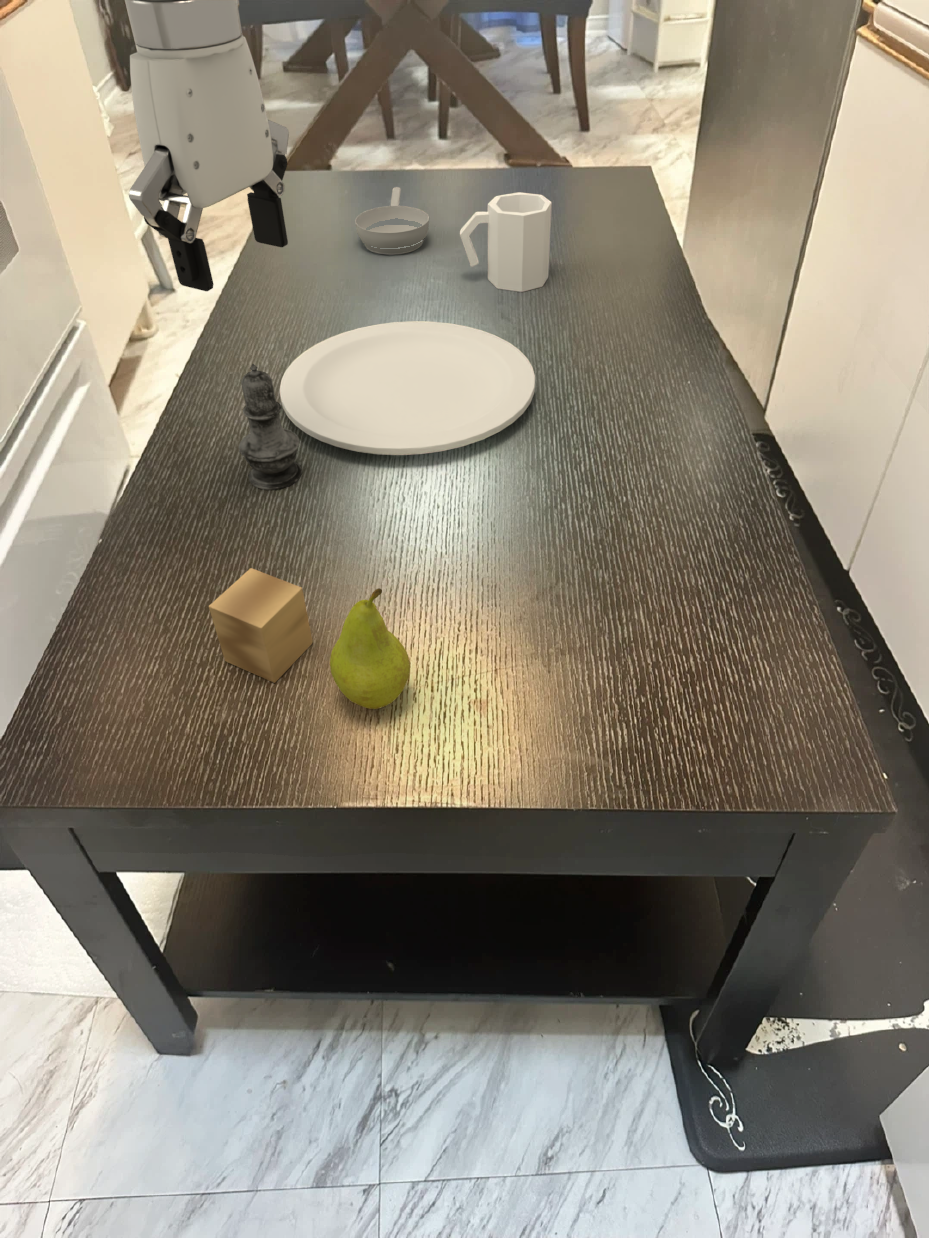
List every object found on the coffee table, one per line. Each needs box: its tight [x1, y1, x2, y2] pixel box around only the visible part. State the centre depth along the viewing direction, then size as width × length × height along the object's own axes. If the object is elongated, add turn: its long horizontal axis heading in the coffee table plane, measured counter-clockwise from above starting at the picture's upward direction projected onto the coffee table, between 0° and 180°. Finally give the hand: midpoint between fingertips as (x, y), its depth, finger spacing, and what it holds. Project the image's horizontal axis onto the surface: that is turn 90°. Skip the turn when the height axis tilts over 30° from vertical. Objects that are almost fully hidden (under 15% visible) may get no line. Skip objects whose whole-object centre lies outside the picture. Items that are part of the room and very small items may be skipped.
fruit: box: [329, 587, 411, 710], centre depth 63 cm, size 6×6×12 cm
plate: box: [279, 320, 536, 456], centre depth 98 cm, size 28×28×2 cm
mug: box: [459, 191, 553, 293], centre depth 118 cm, size 12×9×10 cm
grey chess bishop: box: [238, 363, 303, 491], centre depth 84 cm, size 6×6×12 cm
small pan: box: [354, 186, 430, 256], centre depth 133 cm, size 11×18×4 cm, turn 0°
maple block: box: [208, 567, 314, 684], centre depth 69 cm, size 5×5×6 cm
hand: (235, 264), depth 74 cm, fingers open, 9 cm apart
